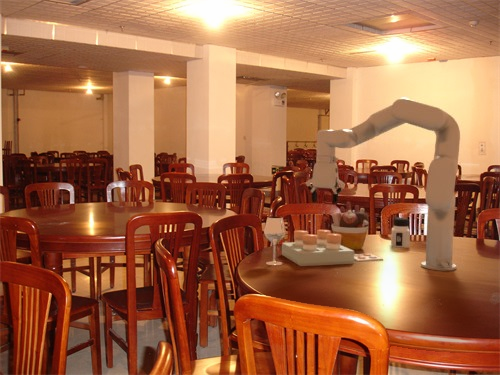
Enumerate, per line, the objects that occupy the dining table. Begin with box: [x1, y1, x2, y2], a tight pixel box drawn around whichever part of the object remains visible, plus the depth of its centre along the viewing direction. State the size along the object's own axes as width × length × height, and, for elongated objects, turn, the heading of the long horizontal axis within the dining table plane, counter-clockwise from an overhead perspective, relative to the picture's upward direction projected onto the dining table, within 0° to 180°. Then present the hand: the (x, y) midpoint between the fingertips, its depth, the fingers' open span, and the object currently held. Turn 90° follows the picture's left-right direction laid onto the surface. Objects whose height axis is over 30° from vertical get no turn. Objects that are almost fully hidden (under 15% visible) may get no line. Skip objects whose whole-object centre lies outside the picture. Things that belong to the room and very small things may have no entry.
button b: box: [316, 229, 332, 246], centre depth 226 cm, size 6×6×7 cm
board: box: [281, 241, 355, 267], centre depth 220 cm, size 22×22×5 cm
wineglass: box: [263, 215, 287, 267], centre depth 210 cm, size 8×8×18 cm
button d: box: [293, 229, 309, 247], centre depth 224 cm, size 6×6×7 cm
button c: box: [303, 233, 317, 251], centre depth 214 cm, size 6×6×7 cm
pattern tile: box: [354, 253, 384, 262], centre depth 224 cm, size 11×11×1 cm
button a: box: [327, 233, 341, 250], centre depth 217 cm, size 6×6×7 cm
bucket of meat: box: [330, 201, 370, 251], centre depth 245 cm, size 20×16×20 cm
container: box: [390, 217, 411, 249], centre depth 252 cm, size 8×8×13 cm
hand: (324, 202), depth 225 cm, fingers open, 8 cm apart
